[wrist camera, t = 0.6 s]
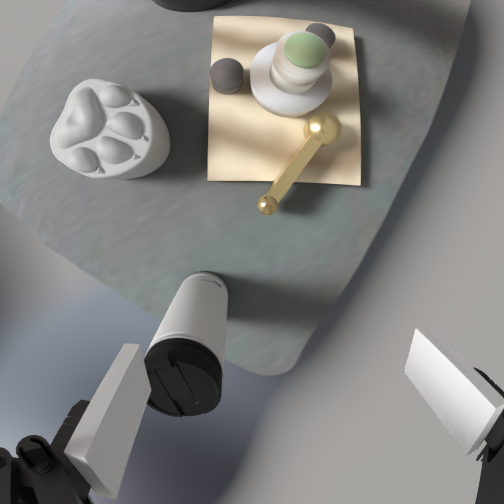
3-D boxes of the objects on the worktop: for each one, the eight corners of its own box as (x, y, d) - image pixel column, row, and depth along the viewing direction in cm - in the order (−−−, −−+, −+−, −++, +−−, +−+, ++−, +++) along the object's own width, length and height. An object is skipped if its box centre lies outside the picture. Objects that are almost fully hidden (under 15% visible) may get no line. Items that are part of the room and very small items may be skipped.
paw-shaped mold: (106, 87, 30) (76, 66, 22) (187, 120, 32) (172, 101, 24) (71, 156, 32) (34, 152, 24) (148, 196, 34) (122, 200, 25)
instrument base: (215, 23, 29) (208, -29, 17) (347, 34, 30) (382, -7, 18) (209, 180, 34) (195, 178, 22) (354, 185, 35) (402, 187, 23)
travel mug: (218, 262, 36) (200, 348, 17) (234, 309, 38) (233, 420, 18) (172, 275, 36) (114, 365, 17) (189, 320, 38) (156, 430, 18)
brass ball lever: (314, 111, 30) (321, 104, 27) (338, 130, 31) (347, 125, 28) (247, 201, 32) (248, 203, 29) (273, 220, 33) (276, 223, 30)
